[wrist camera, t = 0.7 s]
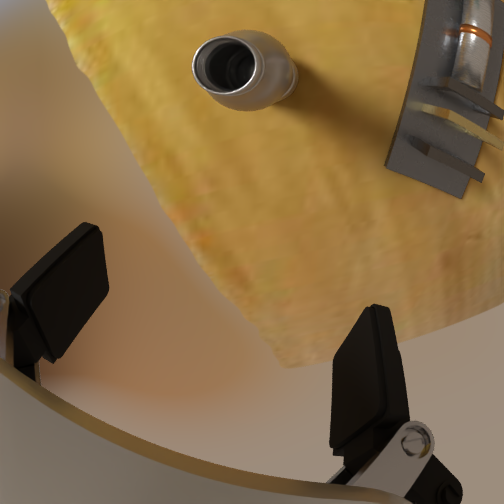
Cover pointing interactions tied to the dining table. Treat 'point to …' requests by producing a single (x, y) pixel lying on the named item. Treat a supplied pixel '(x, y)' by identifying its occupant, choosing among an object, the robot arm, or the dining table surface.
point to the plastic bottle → (245, 70)
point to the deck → (442, 99)
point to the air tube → (474, 43)
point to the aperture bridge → (464, 125)
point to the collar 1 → (467, 96)
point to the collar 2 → (447, 159)
